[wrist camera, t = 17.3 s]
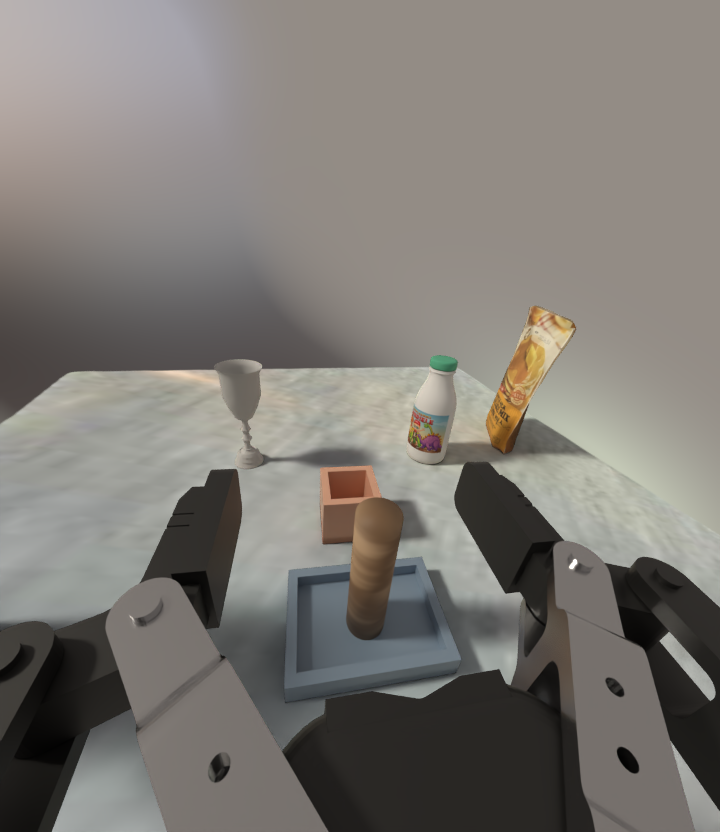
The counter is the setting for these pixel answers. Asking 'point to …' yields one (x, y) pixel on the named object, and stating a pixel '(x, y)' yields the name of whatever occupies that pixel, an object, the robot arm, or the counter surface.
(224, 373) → the chalice
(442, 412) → the milk bottle
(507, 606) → the counter surface
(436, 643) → the slate tray
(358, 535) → the walnut dowel
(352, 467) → the terracotta cup
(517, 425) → the pancake mix bag
